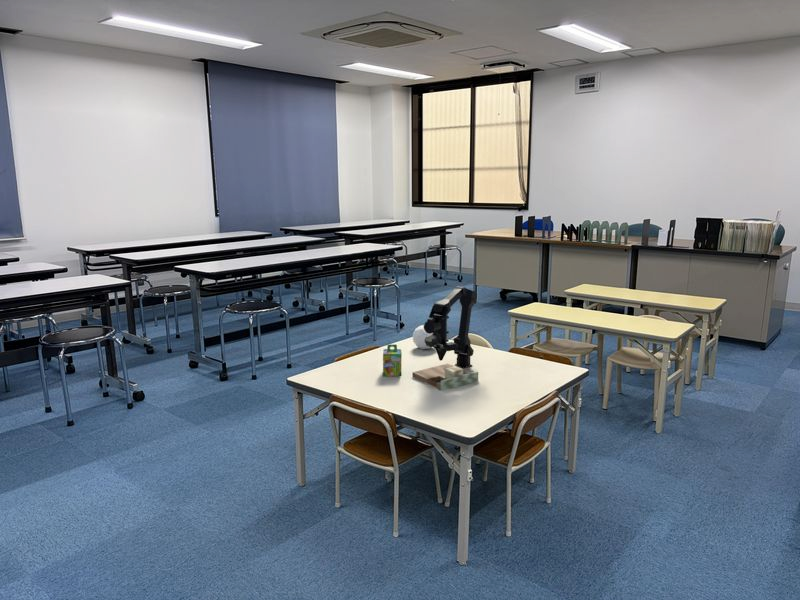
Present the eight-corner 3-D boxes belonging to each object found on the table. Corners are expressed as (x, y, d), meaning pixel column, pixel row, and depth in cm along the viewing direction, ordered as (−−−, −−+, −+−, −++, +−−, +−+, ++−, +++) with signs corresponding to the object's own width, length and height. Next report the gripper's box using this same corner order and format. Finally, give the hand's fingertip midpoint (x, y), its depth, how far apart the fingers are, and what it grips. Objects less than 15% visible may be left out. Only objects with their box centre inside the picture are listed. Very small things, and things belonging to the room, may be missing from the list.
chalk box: (383, 377, 280) (382, 348, 277) (383, 371, 289) (382, 342, 286) (401, 376, 280) (401, 347, 277) (401, 370, 289) (401, 342, 286)
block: (454, 375, 274) (454, 365, 273) (462, 378, 269) (462, 369, 268) (444, 377, 271) (444, 368, 270) (453, 381, 266) (453, 371, 265)
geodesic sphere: (424, 332, 338) (416, 316, 328) (445, 335, 330) (437, 319, 320) (413, 352, 330) (404, 336, 321) (434, 356, 322) (426, 340, 313)
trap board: (447, 368, 291) (447, 359, 290) (478, 380, 273) (478, 371, 272) (412, 377, 279) (412, 368, 278) (442, 390, 261) (442, 381, 260)
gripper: (415, 327, 276) (415, 358, 279) (439, 335, 261) (439, 368, 264) (433, 324, 282) (433, 354, 286) (458, 332, 267) (458, 364, 270)
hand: (440, 360), depth 276 cm, fingers closed
